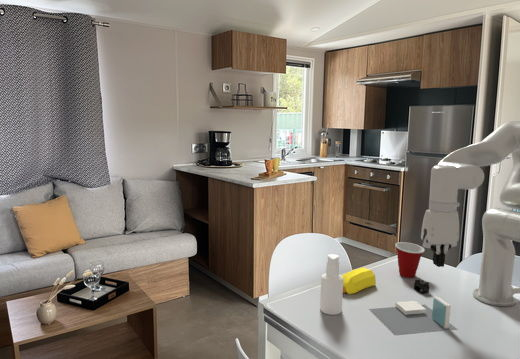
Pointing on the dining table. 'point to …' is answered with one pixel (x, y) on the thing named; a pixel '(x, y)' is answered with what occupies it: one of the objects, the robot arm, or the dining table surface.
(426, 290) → the black slotted bracket
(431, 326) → the mat
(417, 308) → the tile
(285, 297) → the dining table surface
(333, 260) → the spray bottle
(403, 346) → the dining table surface
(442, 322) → the tile
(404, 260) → the plastic cup
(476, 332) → the dining table surface
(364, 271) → the yellow faceted bar
